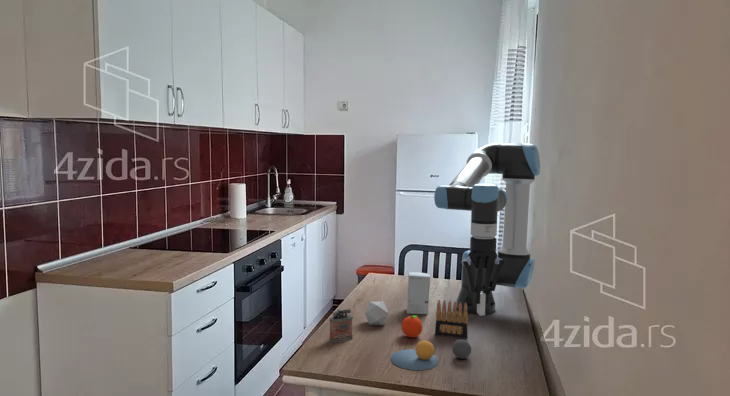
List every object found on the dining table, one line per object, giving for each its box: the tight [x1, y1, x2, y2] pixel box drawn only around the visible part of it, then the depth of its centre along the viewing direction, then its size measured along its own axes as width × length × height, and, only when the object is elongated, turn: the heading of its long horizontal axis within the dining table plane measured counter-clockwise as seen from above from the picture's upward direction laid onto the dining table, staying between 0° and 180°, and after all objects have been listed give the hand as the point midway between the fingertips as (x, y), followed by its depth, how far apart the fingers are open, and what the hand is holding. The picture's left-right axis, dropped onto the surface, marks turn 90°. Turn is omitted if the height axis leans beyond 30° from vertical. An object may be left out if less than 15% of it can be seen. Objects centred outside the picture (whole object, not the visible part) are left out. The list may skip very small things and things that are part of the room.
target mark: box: [390, 348, 439, 371], centre depth 147 cm, size 14×14×1 cm
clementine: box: [401, 315, 423, 338], centre depth 165 cm, size 8×7×7 cm
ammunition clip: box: [434, 299, 469, 340], centre depth 166 cm, size 11×2×12 cm, turn 74°
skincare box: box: [406, 271, 431, 315], centre depth 189 cm, size 8×6×15 cm
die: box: [364, 301, 389, 326], centre depth 176 cm, size 8×9×10 cm
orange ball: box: [415, 340, 435, 360], centre depth 147 cm, size 6×6×6 cm
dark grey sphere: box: [452, 339, 472, 360], centre depth 149 cm, size 6×6×6 cm
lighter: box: [328, 308, 354, 343], centre depth 161 cm, size 8×3×10 cm, turn 117°
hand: (480, 313), depth 149 cm, fingers closed
